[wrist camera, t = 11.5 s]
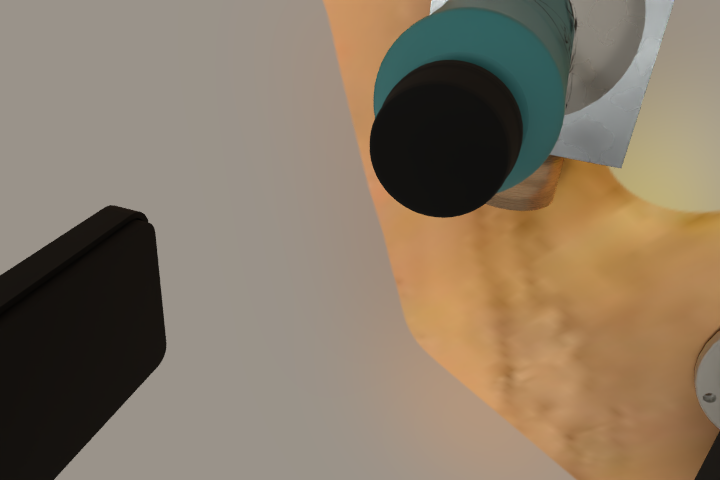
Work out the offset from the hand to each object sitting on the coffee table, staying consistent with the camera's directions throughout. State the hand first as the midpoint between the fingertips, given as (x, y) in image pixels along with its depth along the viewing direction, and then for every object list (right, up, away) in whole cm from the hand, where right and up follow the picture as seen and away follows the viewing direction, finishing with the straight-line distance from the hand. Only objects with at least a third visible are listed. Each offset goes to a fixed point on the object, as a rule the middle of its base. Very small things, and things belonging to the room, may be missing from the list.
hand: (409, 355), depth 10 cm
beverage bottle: (+7, +13, +23) cm, 28 cm away
